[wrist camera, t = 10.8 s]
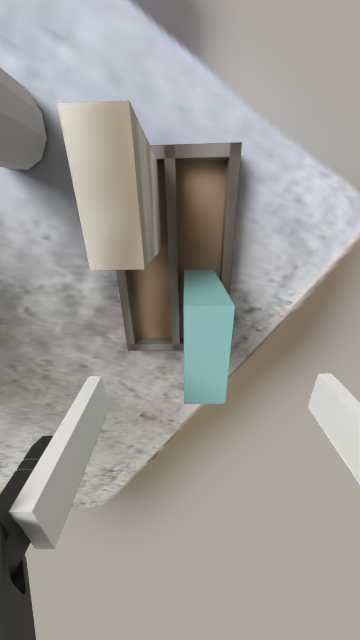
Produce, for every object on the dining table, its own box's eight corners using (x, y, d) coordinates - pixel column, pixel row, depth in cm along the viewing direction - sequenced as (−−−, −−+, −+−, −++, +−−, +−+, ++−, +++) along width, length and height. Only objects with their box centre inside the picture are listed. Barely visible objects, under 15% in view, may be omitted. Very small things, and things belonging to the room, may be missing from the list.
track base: (132, 341, 31) (99, 415, 19) (107, 154, 22) (14, 76, 10) (221, 340, 31) (244, 415, 19) (235, 150, 21) (298, 63, 9)
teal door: (184, 335, 29) (184, 403, 18) (184, 269, 25) (183, 306, 15) (210, 335, 29) (224, 403, 18) (213, 269, 25) (234, 306, 14)
